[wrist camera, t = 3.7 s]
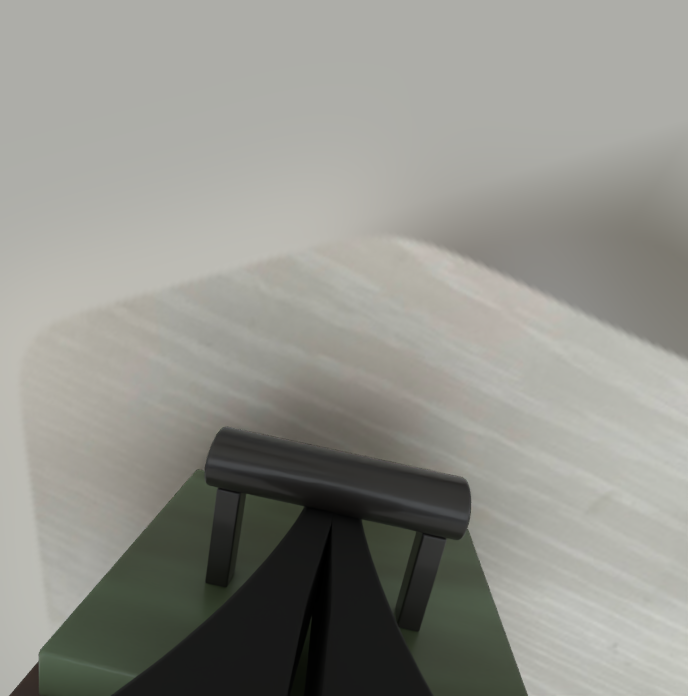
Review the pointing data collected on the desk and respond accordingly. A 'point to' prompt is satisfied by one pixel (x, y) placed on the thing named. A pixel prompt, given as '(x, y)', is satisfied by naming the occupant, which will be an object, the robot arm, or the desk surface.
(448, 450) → the desk surface
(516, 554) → the desk surface
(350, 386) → the desk surface
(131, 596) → the drawer
